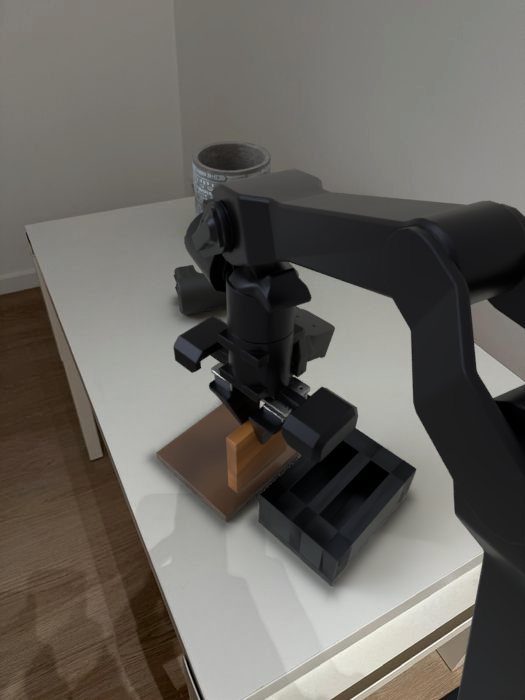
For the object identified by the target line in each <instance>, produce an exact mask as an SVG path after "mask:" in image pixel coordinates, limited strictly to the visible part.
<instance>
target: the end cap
mask: <svg viewBox="0 0 525 700" xmlns="http://www.w3.org/2000/svg"><path fill="white" fill-rule="evenodd" d="M173 278H174V281H175V283H176V284H175V287H174V290H175V291H176V294H177V301H178V308H179V309H178V310H179V312H180V314H181V315H184V316H186V315H192V314H197V313H202V312H208V311H212V310H218V309H223V308H227V299H226V293H225V292H221V291H216V290H215V289H214V288H213V286H212V285H211V284H210V282H209V281H208V279H207V278H206V277H205V275H204V274H203V273H202V272H199V271H197V270H196V268H195V266H194V264H188V265H184V266H178V267H175V269H174V274H173Z"/></svg>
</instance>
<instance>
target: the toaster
mask: <svg viewBox="0 0 525 700" xmlns="http://www.w3.org/2000/svg"><path fill="white" fill-rule="evenodd" d="M417 470H418V469H417V467H415V466H413V465H412V464H411V463H409V462H407V461H406V460H404V459H402V458H401V457H400V456H398V455H397V454H395V453H394V452H392V451H391V450H389V449H388V448H386V447H385V446H383V445H382V444H381V443H379V442H378V441H376V440H374V439H373V438H371V437H370V436H369V435H367V434H366V433H364V432H363V431H361V430H359V428H357V427H356V428H355V429H354V430H353V431H352V432H351V433H350V434H349V435H348V436H347V437H346V438H345V439H343V440H342V441H341V442H340V443H339V444H338V445H337V446H336V447H335V448H334V449H333V450H332V451H331V452H330V453H329V454H328V455H327V456H326V457H325V458H324V459H323V460H322V461H321V462H310V461H309V460H307V459H306V458H305V457H303V456H302V455H300V457H298V458H297V459H295V461H293V463H291V465H290V466H289V467H288V468H286V469H285V470H284V471H283V472H281V474H280V475H278V477H276V479H275V480H273V481H272V483H270V484H269V485H268V486H267V487H266V488H265V489H264V490H263V491H262V492H261V493H259V496H258V497H259V501H258V523H259V524H260V525H261V526H262V527H263V528H264V529H266V530H267V531H268V532H269V533H271V534H272V535H273V536H274V537H275V538H276V539H277V540H278V541H279V542H280V543H281V544H283V545H284V546H285V547H286V548H287V549H289V550H290V552H292V553H293V554H294V555H295V556H297V558H298V559H300V560H301V562H303V563H304V564H305V565H306V566H308V567H309V568H310V569H311V570H312V571H313V572H314V573H315V574H317V575H318V576H319V577H320V578H321V579H322V580H324V582H326V584H328V585H329V586H330V587H333V585H334V584H335V582H336V581H337V580H338V579H339V578H340V577H341V575H342V574H343V573H344V572H345V571H346V569H348V567H350V565H351V564H352V563H353V562H354V560H355V559H356V557H358V555H359V554H360V553H361V552H362V550H363V549H364V548H365V547H366V545H367V544H368V543H369V542H370V541H371V539H372V538H373V537H374V536H375V535H376V534H377V532H378V531H379V530H380V529H381V528H382V527H383V525H384V524H385V523H386V521H388V519H389V518H390V517H391V515H392V514H394V512H395V511H396V510H397V508H398V507H399V506H400V505H401V504H402V502H403V501H404V500H405V499H406V498H407V496H408V493H409V490H410V489H411V485H412V482H413V481H414V477H415V475H416V472H417Z"/></svg>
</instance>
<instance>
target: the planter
mask: <svg viewBox="0 0 525 700" xmlns="http://www.w3.org/2000/svg"><path fill="white" fill-rule="evenodd" d="M271 160H272V159H271V154H270V152H269V151H268V150H267V148H265V147H263V146H262V145H259V144H255V143H251V142H247V141H241V140H240V141H239V140H222V141H215V142H214V141H213V142H209V143H207V144H203V145H201V146H200V147H198V148H196V149H195V150H194V151H193V153H192V155H191V164H192V182H193V192H194V207H195V215H196V217H197V216H198V215H199V214H200V213H202V212H203V204H202V201H203V200H207V199H211V198H213V196H212V193H211V192H212V190H213V188H214V186H215V185H216V184H218V183H223V182H228V181H233V180H238V179H243V178H248V177H254V176H259V175H264V174H269V173H271Z"/></svg>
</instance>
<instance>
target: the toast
mask: <svg viewBox="0 0 525 700" xmlns="http://www.w3.org/2000/svg"><path fill="white" fill-rule="evenodd" d="M281 433H282V429H281V430H280V431H279V432H278V433H277V434H275V435H272V436H271V438H270V439H269V440H268V441H267V442H266V443H265V444H264V445H262V444H260V442H259V441H258V439H257V437H256V435H255V432H254V430H253V427H252V425H251V423H250V421H249V420H248V421H246V422H245V423H244V424H243V425H241V426H240V427H239V428H238V429H236V430H235V431H234V432H233V433H231V434H230V435H229V436H228V437H226V445H227V465H228V486H229V487H230V488H231V489H232V490H234V491H235V492H236V493H239V492H240V491H241V490H242V489H243V488H244V487H245V486H246V485H247V484H249V483H250V482H251V481H252V480H253V479H254V478H255V477H256V476H258V475H259V474H260V473H261V472H262V471H263V470H264V469H265V468H266V467H268V466H269V465H270V464H271V463H272V462H273V461H274V460H275V459H276V458H278V457H279V456H280V455H281V454H282V453H283V452H284V451H285V450H286V446H287V443H286V441H285V439H284V438H283V436H282V434H281Z"/></svg>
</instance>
